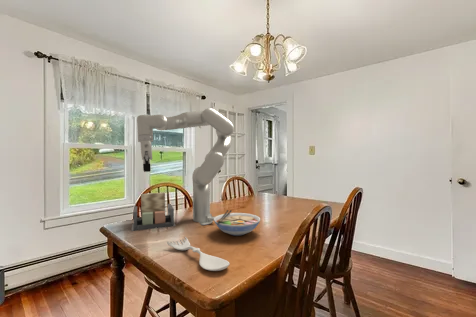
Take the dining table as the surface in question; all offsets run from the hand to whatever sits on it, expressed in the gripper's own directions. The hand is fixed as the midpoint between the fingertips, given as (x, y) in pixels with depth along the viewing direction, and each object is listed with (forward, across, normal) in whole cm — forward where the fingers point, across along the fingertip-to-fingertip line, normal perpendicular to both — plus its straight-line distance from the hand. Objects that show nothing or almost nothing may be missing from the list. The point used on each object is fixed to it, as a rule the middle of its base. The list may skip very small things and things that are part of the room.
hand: (146, 171), depth 123 cm
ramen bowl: (+32, -28, -39) cm, 57 cm away
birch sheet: (+28, +1, -2) cm, 28 cm away
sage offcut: (+28, -5, +1) cm, 29 cm away
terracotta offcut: (+28, -5, -5) cm, 29 cm away
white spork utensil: (+31, -48, -14) cm, 59 cm away
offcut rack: (+30, -2, -2) cm, 30 cm away
